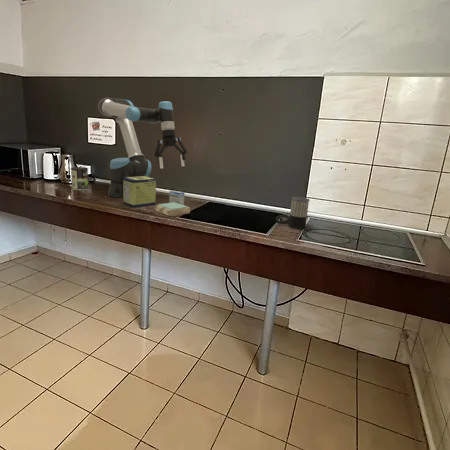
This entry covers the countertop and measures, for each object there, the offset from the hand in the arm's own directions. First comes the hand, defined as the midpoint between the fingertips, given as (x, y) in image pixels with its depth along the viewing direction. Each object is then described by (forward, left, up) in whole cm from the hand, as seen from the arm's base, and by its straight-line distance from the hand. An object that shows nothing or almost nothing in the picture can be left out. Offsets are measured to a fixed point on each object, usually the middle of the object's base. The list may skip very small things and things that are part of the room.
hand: (172, 167), depth 193 cm
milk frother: (+68, +25, -22) cm, 76 cm away
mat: (+15, -11, -19) cm, 27 cm away
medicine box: (+5, 0, -22) cm, 23 cm away
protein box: (-9, -16, -22) cm, 29 cm away
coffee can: (-65, -25, -22) cm, 73 cm away
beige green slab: (+15, -11, -22) cm, 29 cm away
